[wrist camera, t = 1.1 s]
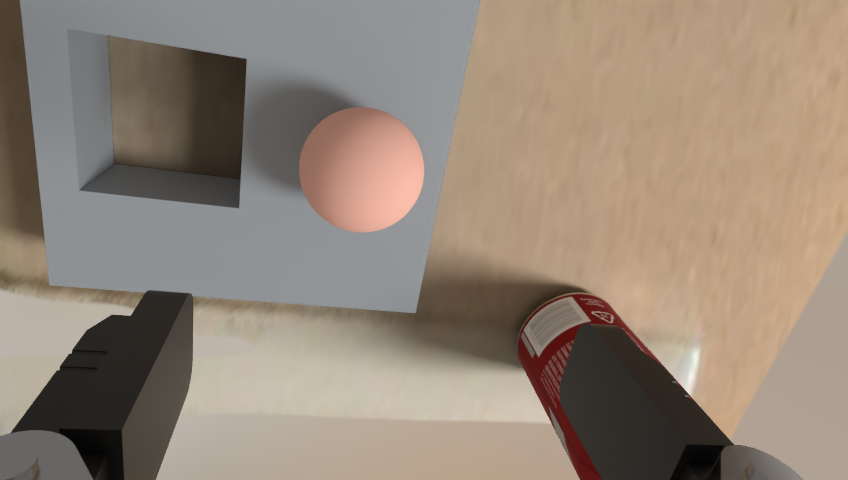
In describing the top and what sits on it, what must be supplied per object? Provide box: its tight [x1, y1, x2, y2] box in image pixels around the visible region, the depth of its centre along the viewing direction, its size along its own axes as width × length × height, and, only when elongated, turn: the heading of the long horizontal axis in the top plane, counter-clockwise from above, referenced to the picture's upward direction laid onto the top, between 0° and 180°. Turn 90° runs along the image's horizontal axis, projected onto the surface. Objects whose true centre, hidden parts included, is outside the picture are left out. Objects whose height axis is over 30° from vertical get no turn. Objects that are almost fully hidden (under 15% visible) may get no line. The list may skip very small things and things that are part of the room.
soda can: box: [517, 292, 700, 480], centre depth 29 cm, size 7×7×12 cm
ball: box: [299, 107, 424, 233], centre depth 22 cm, size 5×5×5 cm
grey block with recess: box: [20, 0, 480, 313], centre depth 25 cm, size 16×17×4 cm
